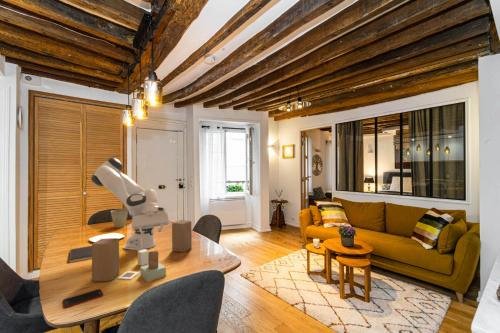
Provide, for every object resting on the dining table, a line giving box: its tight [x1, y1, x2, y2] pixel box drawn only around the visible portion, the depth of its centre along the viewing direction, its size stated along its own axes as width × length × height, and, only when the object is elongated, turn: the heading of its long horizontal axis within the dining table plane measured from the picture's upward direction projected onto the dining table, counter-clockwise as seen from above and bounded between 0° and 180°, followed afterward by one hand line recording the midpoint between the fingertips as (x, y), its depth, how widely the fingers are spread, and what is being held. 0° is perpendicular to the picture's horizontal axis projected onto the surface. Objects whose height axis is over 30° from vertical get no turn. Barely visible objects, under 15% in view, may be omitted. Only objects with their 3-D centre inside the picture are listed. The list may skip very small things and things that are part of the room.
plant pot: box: [110, 208, 129, 229], centre depth 235 cm, size 15×15×16 cm
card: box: [116, 270, 140, 281], centre depth 132 cm, size 8×8×1 cm
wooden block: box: [91, 238, 120, 283], centre depth 131 cm, size 10×10×20 cm
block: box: [171, 219, 193, 253], centre depth 172 cm, size 10×10×20 cm
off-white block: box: [137, 249, 150, 267], centre depth 148 cm, size 4×4×8 cm
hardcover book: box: [68, 245, 92, 264], centre depth 164 cm, size 16×23×2 cm
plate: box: [88, 232, 126, 243], centre depth 197 cm, size 23×23×2 cm
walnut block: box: [147, 250, 159, 270], centre depth 133 cm, size 4×4×8 cm
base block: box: [139, 261, 167, 283], centre depth 133 cm, size 10×10×5 cm
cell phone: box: [62, 288, 104, 309], centre depth 110 cm, size 8×15×1 cm, turn 131°
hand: (151, 233), depth 140 cm, fingers open, 8 cm apart
